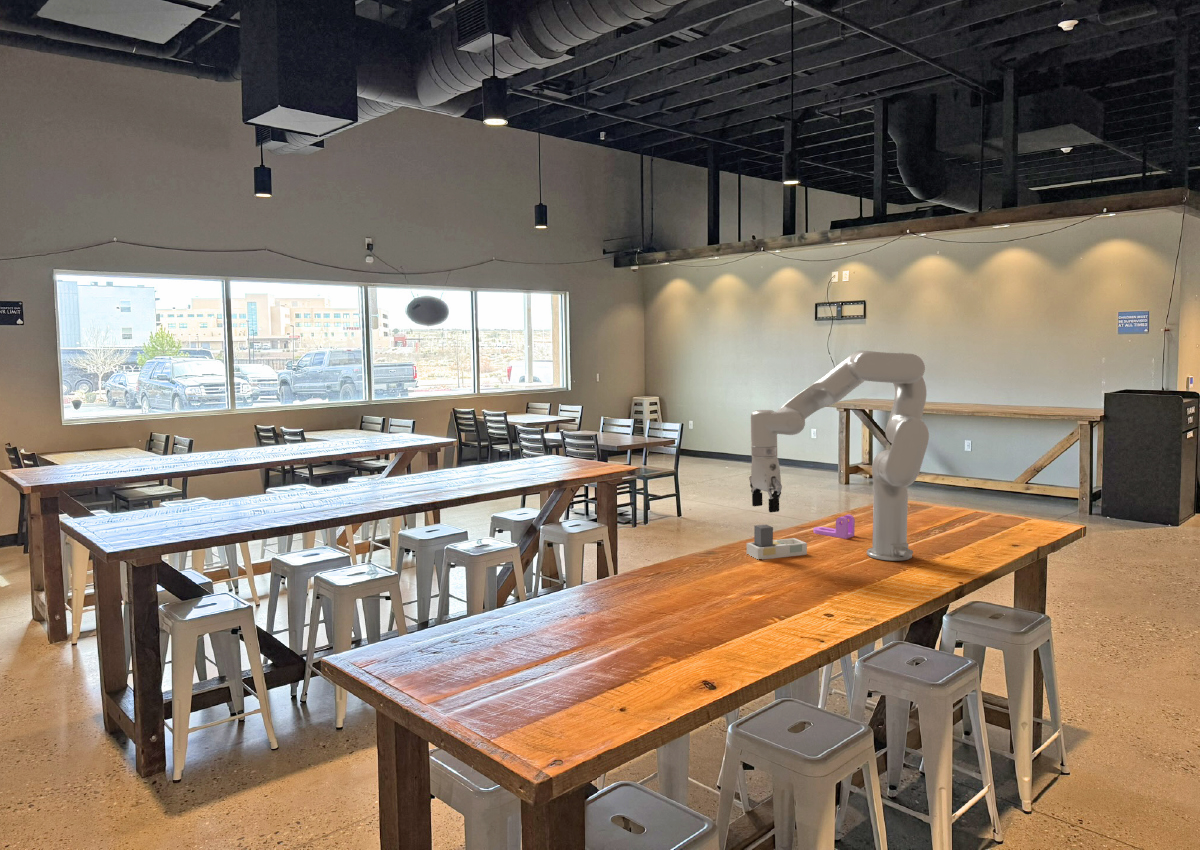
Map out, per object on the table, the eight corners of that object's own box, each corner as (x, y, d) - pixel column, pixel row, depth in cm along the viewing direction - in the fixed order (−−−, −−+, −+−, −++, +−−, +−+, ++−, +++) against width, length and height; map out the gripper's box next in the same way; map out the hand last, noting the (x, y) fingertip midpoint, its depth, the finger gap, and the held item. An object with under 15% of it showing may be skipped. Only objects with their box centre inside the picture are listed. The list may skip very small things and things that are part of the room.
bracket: (854, 536, 267) (854, 515, 266) (846, 539, 263) (846, 518, 262) (818, 530, 276) (819, 510, 275) (810, 533, 272) (810, 512, 271)
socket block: (807, 554, 244) (807, 542, 244) (758, 560, 239) (758, 547, 239) (794, 549, 251) (794, 537, 250) (746, 554, 246) (746, 542, 245)
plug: (772, 553, 242) (772, 527, 241) (760, 554, 241) (760, 528, 240) (766, 550, 246) (766, 524, 245) (754, 551, 245) (754, 525, 244)
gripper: (791, 454, 233) (792, 512, 235) (761, 447, 250) (762, 502, 251) (768, 456, 231) (769, 515, 233) (739, 449, 247) (740, 505, 249)
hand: (765, 508), depth 242 cm, fingers open, 9 cm apart
